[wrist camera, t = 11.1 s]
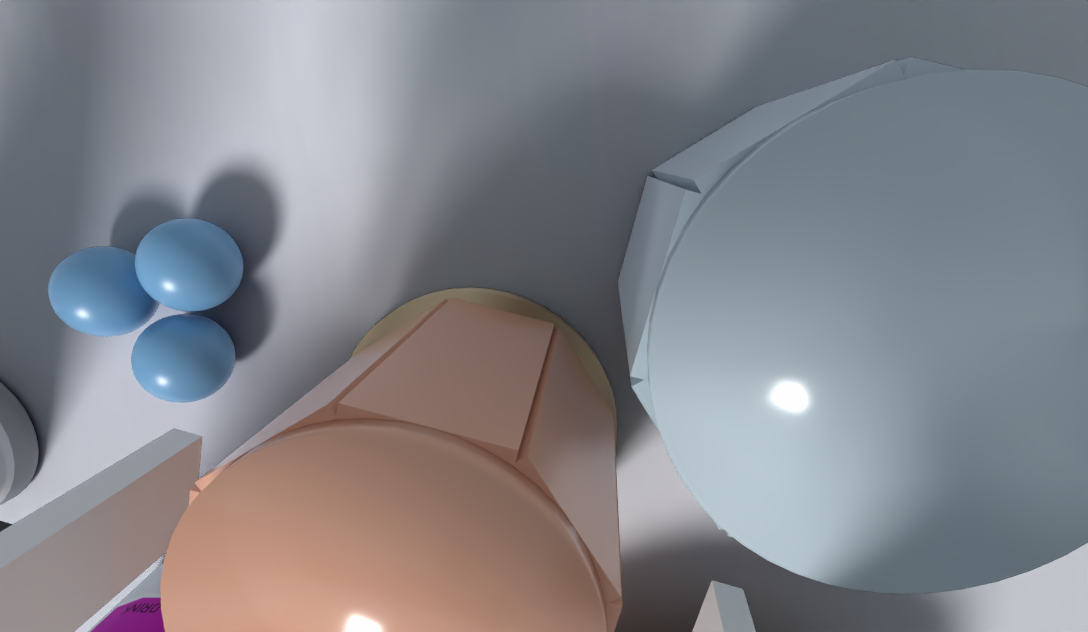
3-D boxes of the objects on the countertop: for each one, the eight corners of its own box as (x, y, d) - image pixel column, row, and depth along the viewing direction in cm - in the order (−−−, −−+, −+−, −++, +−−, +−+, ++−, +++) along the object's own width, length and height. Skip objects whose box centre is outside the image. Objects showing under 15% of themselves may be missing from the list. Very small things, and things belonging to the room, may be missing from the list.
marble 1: (183, 252, 20) (114, 267, 17) (178, 331, 21) (112, 358, 18) (102, 231, 20) (20, 243, 17) (101, 311, 21) (22, 335, 18)
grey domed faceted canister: (969, 155, 17) (1375, 152, 8) (855, 424, 20) (1068, 647, 11) (672, 83, 17) (749, 3, 8) (596, 358, 20) (592, 522, 11)
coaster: (651, 328, 19) (652, 333, 19) (577, 570, 22) (577, 581, 22) (364, 255, 20) (357, 258, 19) (327, 503, 22) (320, 512, 22)
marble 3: (256, 316, 21) (200, 341, 18) (249, 391, 21) (194, 427, 19) (177, 295, 21) (108, 317, 18) (172, 371, 22) (106, 404, 19)
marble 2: (265, 226, 20) (208, 237, 17) (257, 308, 21) (201, 332, 18) (182, 204, 20) (110, 212, 17) (177, 287, 21) (108, 308, 18)
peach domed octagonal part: (635, 344, 19) (666, 510, 10) (569, 567, 21) (546, 860, 12) (372, 276, 19) (172, 379, 10) (336, 505, 22) (150, 748, 13)
